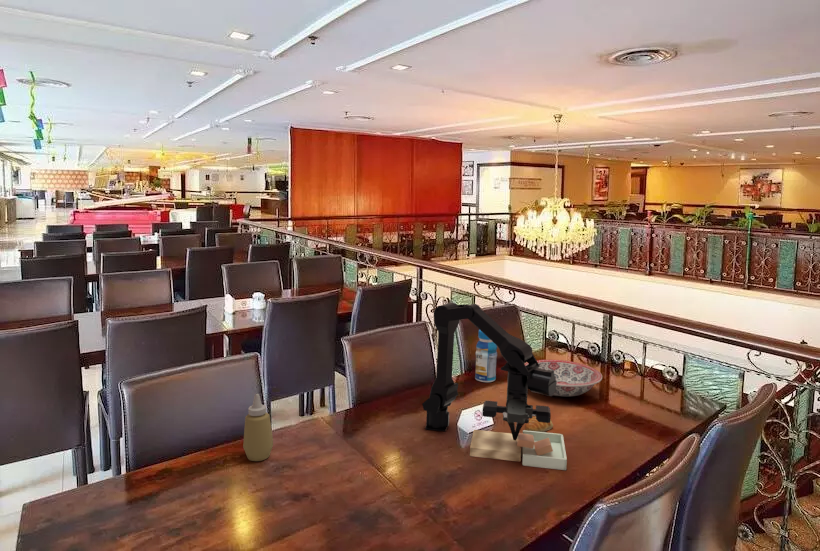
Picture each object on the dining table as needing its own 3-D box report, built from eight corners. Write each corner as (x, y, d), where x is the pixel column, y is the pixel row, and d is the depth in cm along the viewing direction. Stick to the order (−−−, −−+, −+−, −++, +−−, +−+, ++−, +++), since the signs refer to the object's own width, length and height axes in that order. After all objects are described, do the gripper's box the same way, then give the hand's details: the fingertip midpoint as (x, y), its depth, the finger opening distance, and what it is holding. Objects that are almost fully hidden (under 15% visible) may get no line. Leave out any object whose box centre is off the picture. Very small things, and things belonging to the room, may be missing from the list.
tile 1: (517, 445, 155) (518, 439, 155) (516, 438, 159) (517, 432, 159) (533, 448, 155) (534, 442, 154) (531, 441, 159) (533, 435, 159)
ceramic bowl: (609, 388, 209) (610, 368, 208) (588, 414, 185) (590, 391, 184) (535, 373, 225) (536, 355, 223) (507, 395, 200) (508, 374, 199)
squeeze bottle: (279, 452, 154) (278, 391, 151) (262, 466, 147) (260, 401, 144) (254, 447, 157) (253, 387, 154) (237, 460, 149) (235, 397, 146)
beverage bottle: (497, 383, 213) (499, 333, 210) (475, 382, 213) (477, 332, 210) (494, 375, 221) (496, 327, 218) (473, 375, 221) (475, 327, 218)
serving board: (469, 456, 154) (470, 447, 154) (473, 437, 166) (473, 429, 165) (520, 461, 151) (521, 453, 151) (520, 442, 163) (521, 434, 163)
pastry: (537, 437, 167) (538, 425, 167) (519, 430, 172) (519, 418, 171) (554, 428, 173) (555, 417, 173) (536, 422, 178) (536, 410, 178)
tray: (522, 465, 149) (522, 455, 149) (522, 439, 165) (523, 430, 164) (566, 470, 147) (566, 459, 147) (562, 443, 163) (562, 434, 162)
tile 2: (550, 444, 153) (553, 451, 153) (548, 437, 157) (551, 443, 158) (535, 449, 154) (537, 456, 154) (533, 442, 158) (536, 448, 158)
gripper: (482, 394, 149) (479, 448, 151) (553, 401, 145) (549, 456, 147) (484, 381, 159) (482, 431, 162) (551, 386, 156) (547, 438, 158)
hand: (514, 439), depth 157 cm, fingers closed
